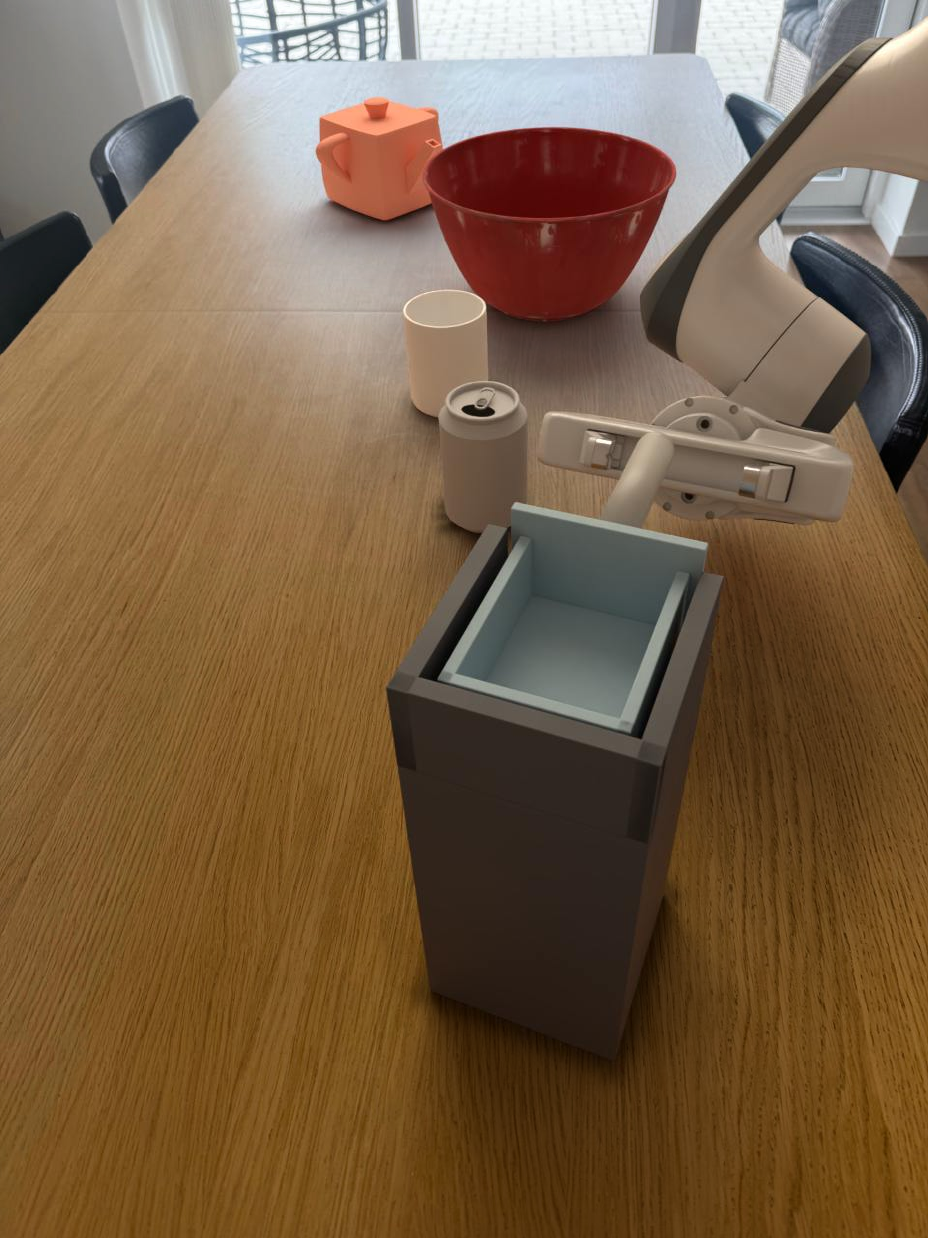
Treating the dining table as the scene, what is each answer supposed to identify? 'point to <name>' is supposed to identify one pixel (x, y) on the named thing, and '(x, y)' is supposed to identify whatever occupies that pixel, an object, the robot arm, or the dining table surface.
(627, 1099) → the dining table surface
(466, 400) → the can
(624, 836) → the box
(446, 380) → the mug
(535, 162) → the mixing bowl
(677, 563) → the tray
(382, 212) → the teapot
